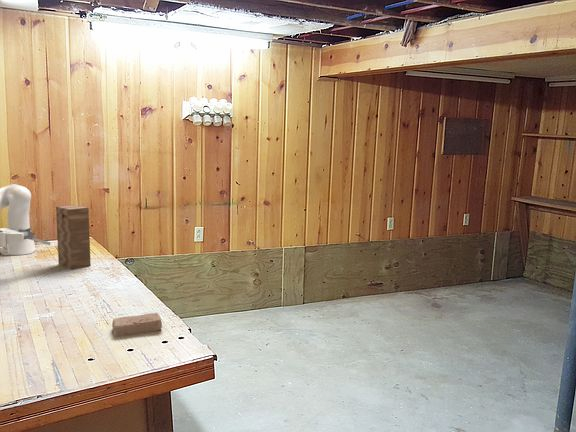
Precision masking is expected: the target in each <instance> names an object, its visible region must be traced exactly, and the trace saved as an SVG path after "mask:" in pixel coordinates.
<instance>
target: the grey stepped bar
mask: <svg viewBox="0 0 576 432" xmlns="http://www.w3.org/2000/svg"><path fill="white" fill-rule="evenodd" d="M25 231H26V230H23V229H19V230H18V232H25ZM26 232H28V235H27V236H24V238H27V239H30V240H33V241H34V242H37V243H40V244H43V245H46V246H51V243H52V242H51V241H50V242H49V241H47V240H44V239H40V238H37V237H35V233H34V232H32V231H31V232H29V231H26Z"/></svg>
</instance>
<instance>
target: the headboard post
mask: <svg viewBox="0 0 576 432" xmlns="http://www.w3.org/2000/svg"><path fill="white" fill-rule="evenodd" d="M55 213H56V215H55V216H56V233H57V234H56V235H57V254H58V256H57V257H58V266H61V267H64V268H67V269H70V270H77V269H82V268H88V267H91V264H92V263H91V244H90V243H91V240H90V236H91V235H90V216H89V215H90V214H89V213H90V212H89V207H86V206H81V205H75V204H71V205H69V204H68V205H60V206H55Z"/></svg>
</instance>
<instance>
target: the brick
mask: <svg viewBox="0 0 576 432" xmlns="http://www.w3.org/2000/svg"><path fill="white" fill-rule="evenodd" d="M111 325H112V332H113V336H114V337H122V336H128V335H129V336H130V335H135V334H139V335H140V334H145V333H152V332H157V331H159V330H162V327H163V323H162V319H161V316H160V315H159V313H158V312H151V313H143V314H141V315H132V316H122V317H115V318H113V320H112V324H111Z"/></svg>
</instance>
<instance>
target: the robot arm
mask: <svg viewBox="0 0 576 432" xmlns="http://www.w3.org/2000/svg"><path fill="white" fill-rule="evenodd" d="M31 200H32V193H31V191H30V190H29V188H27V187H25V186H23V185H19V184H17V183H16V184H15V183H14V184H13V183H12V184H9V185H6V186H3V187H0V211H1V210H3V209H5V208H7V207H8V212H7V216H6V218H7V228H6V227H1V228H0V247H1V248H0V254H1V255H3V256H22V255H23V256H24V255H30V254H32V253H35V252H36V251H38V248H37V247H36V246H35V241H33V240H30V239H27V238H24V236H27V235H28V232H26V231H29V232H32V229H31V226H30V223H31V222H30V208H31ZM19 229H23V230H26V231H25V232H18V230H19Z"/></svg>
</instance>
